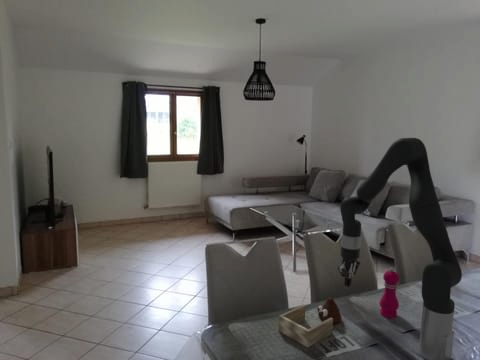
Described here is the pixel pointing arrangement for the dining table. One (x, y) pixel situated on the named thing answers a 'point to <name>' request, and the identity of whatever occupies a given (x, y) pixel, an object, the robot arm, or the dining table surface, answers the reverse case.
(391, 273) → the pepper mill
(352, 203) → the robot arm
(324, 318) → the poop emoji
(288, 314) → the birch holder
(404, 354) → the dining table surface
